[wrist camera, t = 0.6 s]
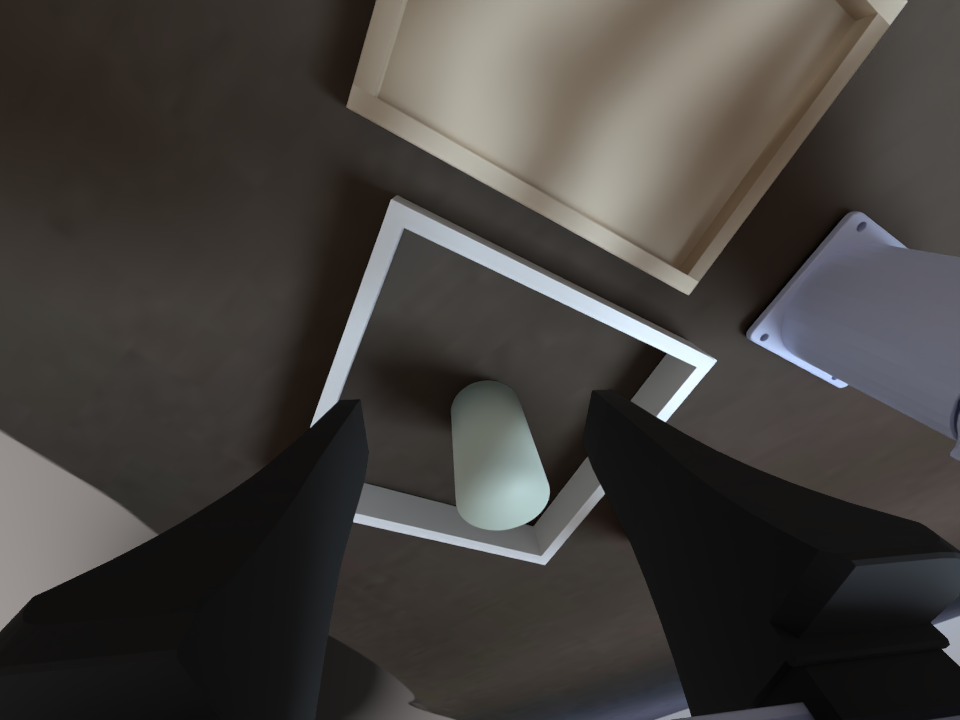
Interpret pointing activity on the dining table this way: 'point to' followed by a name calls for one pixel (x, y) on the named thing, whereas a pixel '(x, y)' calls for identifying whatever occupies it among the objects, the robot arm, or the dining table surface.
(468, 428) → the sage cylinder
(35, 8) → the dining table surface
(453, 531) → the white hollow square frame
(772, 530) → the robot arm
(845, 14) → the birch tray
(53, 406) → the dining table surface
